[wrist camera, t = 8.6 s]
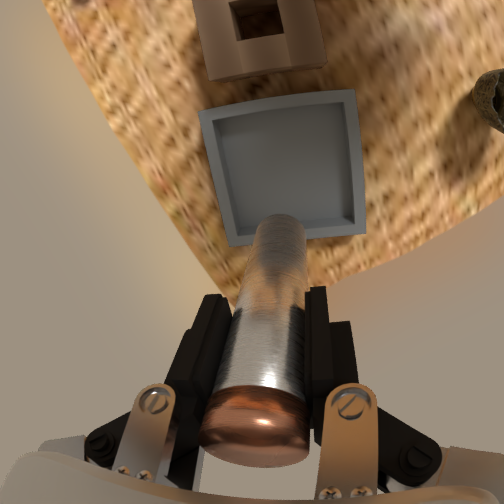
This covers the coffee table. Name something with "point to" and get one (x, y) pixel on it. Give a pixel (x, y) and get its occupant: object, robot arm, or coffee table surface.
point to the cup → (490, 98)
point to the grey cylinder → (264, 357)
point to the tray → (288, 163)
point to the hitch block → (262, 48)
